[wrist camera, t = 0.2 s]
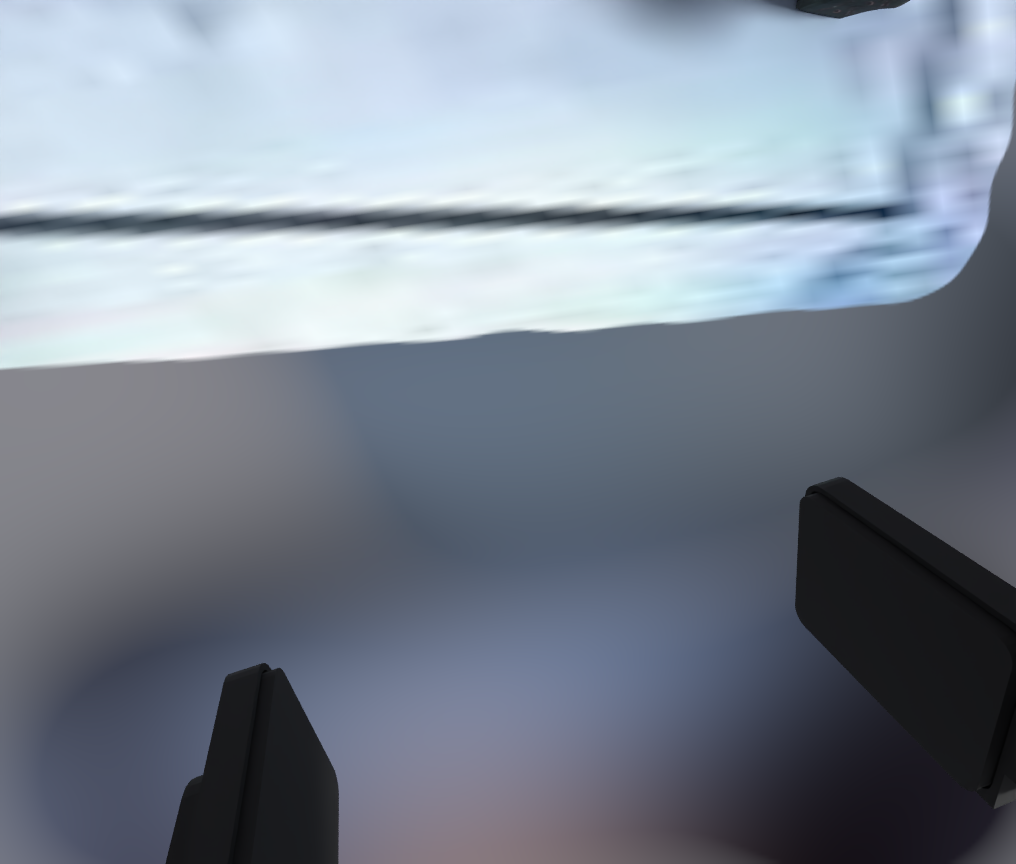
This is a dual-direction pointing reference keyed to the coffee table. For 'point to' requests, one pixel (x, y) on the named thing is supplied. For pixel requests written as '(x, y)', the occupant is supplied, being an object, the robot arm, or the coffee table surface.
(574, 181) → the coffee table surface
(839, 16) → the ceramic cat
